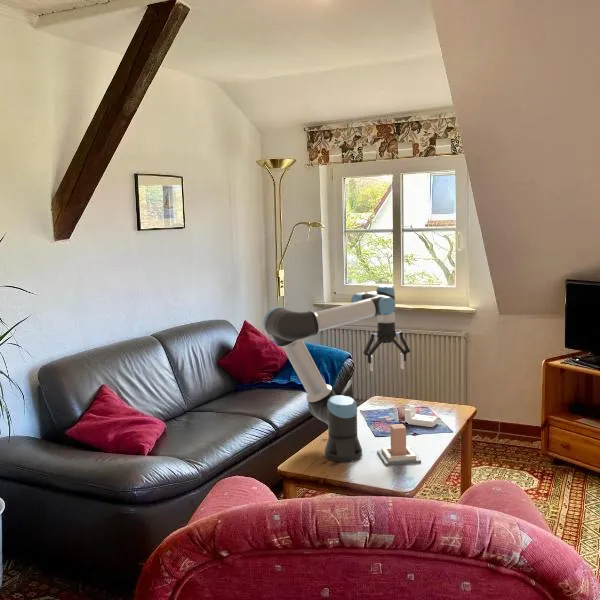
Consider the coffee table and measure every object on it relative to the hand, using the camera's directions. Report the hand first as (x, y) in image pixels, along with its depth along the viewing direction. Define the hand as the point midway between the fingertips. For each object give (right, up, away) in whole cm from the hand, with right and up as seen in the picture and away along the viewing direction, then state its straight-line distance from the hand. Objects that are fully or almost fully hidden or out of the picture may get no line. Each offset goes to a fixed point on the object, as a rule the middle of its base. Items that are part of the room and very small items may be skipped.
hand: (387, 369), depth 290 cm
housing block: (+1, -31, -25) cm, 40 cm away
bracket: (+17, -27, +14) cm, 35 cm away
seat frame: (+1, -32, -25) cm, 41 cm away
